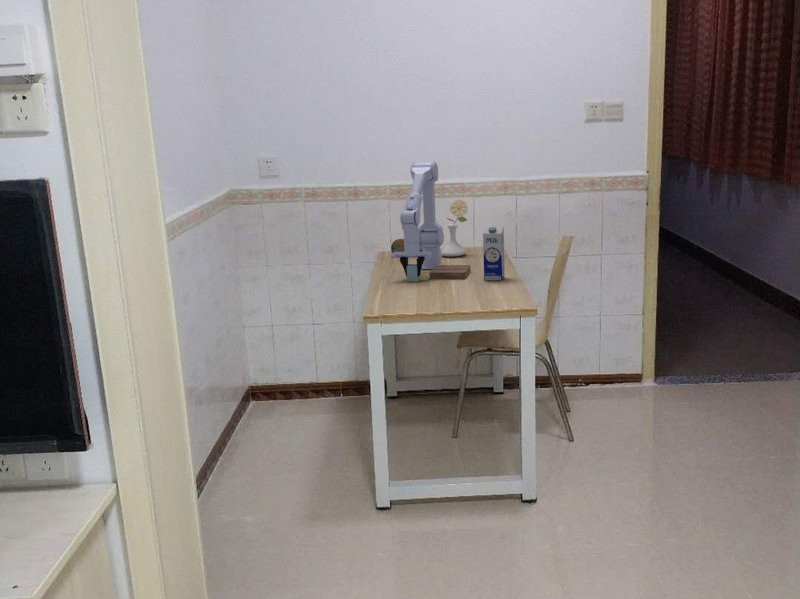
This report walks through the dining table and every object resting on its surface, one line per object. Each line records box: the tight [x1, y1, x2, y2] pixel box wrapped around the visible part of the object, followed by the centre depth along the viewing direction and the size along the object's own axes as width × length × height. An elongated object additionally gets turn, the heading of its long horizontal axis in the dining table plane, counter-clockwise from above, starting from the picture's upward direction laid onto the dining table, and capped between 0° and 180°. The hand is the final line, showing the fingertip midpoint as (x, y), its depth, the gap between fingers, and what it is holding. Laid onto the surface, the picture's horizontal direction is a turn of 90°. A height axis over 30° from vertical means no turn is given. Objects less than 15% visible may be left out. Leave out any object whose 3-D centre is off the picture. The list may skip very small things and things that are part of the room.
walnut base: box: [428, 264, 471, 280], centre depth 311 cm, size 14×14×2 cm
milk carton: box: [482, 225, 506, 281], centre depth 298 cm, size 7×7×20 cm
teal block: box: [406, 263, 420, 282], centre depth 305 cm, size 4×4×6 cm
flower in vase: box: [440, 198, 469, 258], centre depth 347 cm, size 13×11×25 cm
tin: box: [390, 238, 423, 254], centre depth 353 cm, size 15×3×8 cm, turn 77°
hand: (413, 276), depth 305 cm, fingers closed on teal block, 4 cm apart
